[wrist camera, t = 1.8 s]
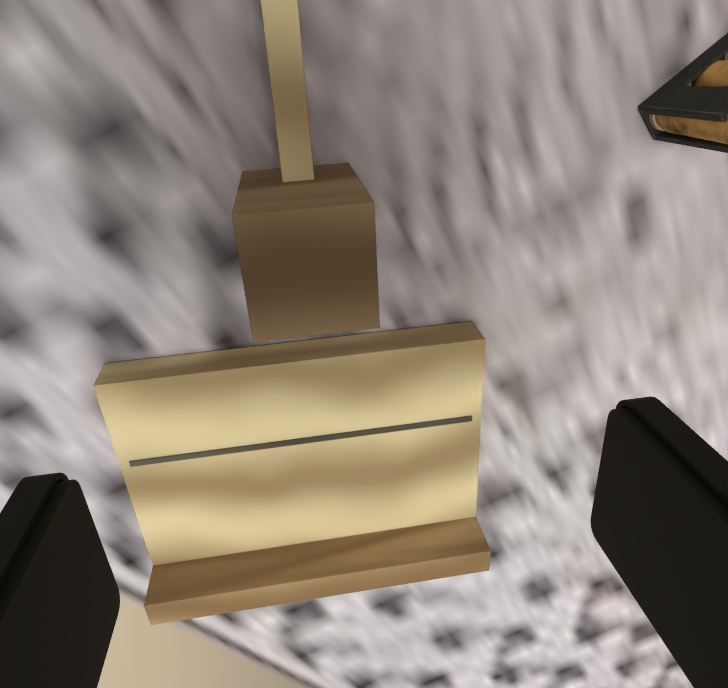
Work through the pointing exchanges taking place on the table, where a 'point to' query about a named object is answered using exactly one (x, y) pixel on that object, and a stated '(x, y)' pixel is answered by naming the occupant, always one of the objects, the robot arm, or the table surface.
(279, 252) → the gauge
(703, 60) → the ammunition clip
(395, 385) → the board
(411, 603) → the table surface
